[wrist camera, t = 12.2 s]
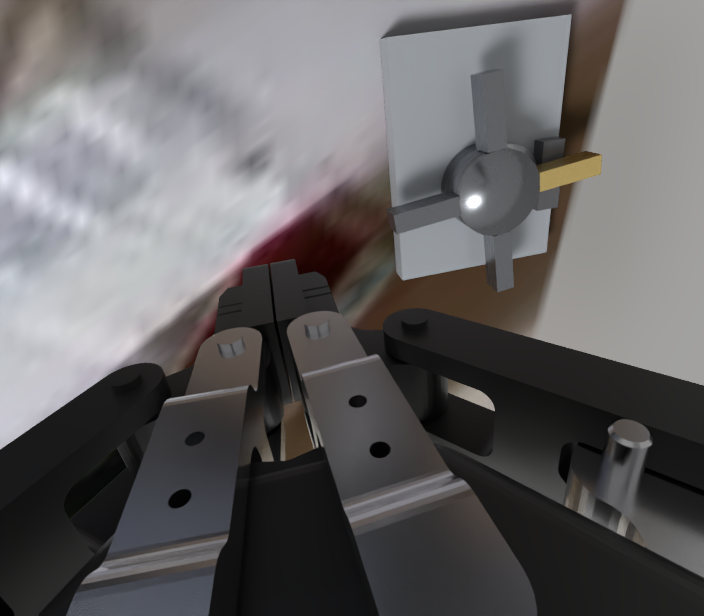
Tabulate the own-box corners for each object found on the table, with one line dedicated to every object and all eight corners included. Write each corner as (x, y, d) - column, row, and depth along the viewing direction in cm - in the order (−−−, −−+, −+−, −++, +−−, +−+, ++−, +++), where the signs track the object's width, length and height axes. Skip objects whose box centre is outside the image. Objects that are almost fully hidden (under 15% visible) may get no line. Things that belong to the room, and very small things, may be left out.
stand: (379, 39, 34) (392, 35, 31) (556, 17, 36) (583, 11, 33) (396, 272, 44) (407, 286, 41) (535, 245, 46) (554, 257, 43)
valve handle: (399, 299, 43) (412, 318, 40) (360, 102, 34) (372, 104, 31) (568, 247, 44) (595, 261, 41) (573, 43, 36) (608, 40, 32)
